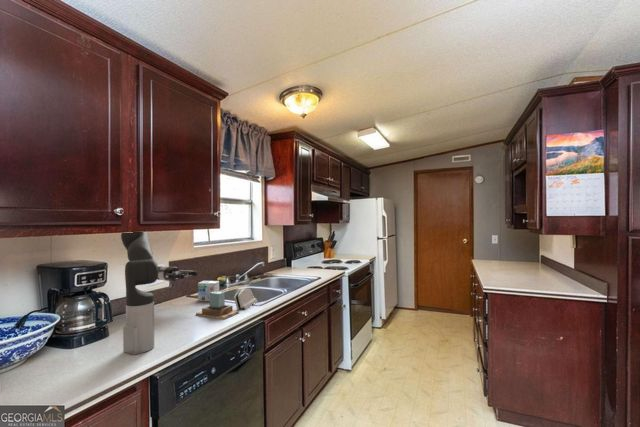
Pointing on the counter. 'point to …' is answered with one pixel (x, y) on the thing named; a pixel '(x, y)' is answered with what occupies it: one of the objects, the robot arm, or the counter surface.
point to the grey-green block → (217, 300)
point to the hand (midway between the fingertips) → (190, 275)
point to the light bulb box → (207, 289)
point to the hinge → (244, 299)
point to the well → (218, 312)
